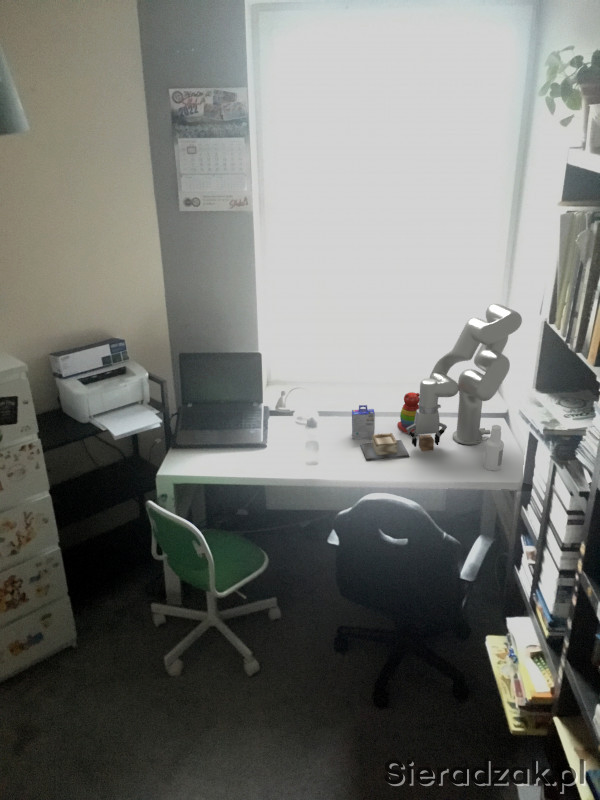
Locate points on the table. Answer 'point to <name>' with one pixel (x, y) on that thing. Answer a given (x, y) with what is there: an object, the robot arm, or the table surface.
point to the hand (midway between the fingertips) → (425, 444)
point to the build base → (387, 456)
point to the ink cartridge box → (363, 423)
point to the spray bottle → (494, 450)
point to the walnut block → (426, 443)
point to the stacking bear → (408, 411)
